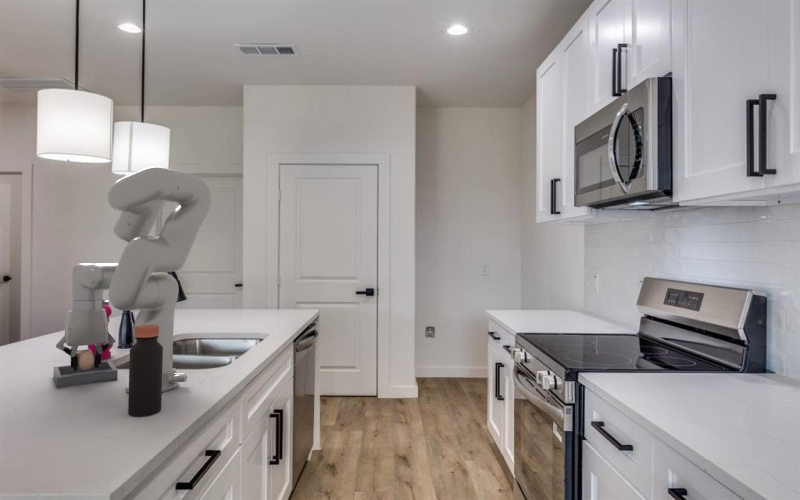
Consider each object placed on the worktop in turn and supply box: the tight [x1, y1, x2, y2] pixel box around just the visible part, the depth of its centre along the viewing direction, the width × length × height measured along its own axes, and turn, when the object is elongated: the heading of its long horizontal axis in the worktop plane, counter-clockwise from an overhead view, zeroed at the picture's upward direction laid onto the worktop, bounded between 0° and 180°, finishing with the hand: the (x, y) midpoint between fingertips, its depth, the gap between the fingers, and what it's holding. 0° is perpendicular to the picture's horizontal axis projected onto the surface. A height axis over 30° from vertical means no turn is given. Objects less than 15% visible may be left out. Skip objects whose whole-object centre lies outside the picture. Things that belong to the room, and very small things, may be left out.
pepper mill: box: [87, 305, 114, 361], centre depth 155 cm, size 7×7×20 cm
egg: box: [77, 349, 95, 370], centre depth 131 cm, size 4×4×6 cm
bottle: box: [127, 325, 163, 418], centre depth 105 cm, size 7×7×20 cm
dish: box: [53, 360, 119, 389], centre depth 131 cm, size 14×14×3 cm
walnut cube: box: [76, 348, 92, 357], centre depth 143 cm, size 5×5×5 cm
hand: (85, 367), depth 131 cm, fingers closed on egg, 4 cm apart
